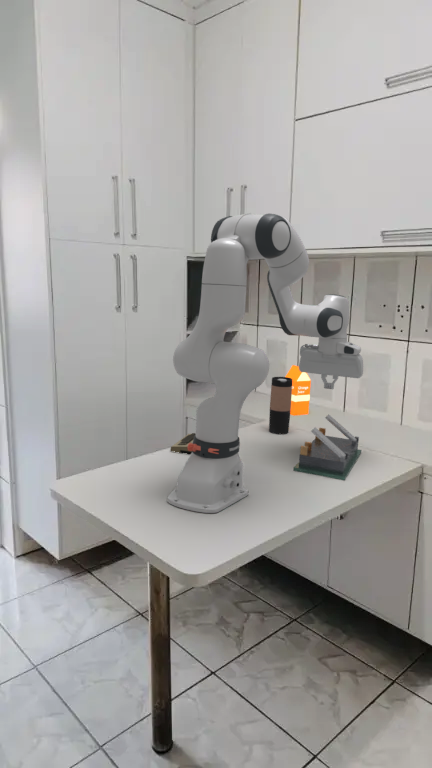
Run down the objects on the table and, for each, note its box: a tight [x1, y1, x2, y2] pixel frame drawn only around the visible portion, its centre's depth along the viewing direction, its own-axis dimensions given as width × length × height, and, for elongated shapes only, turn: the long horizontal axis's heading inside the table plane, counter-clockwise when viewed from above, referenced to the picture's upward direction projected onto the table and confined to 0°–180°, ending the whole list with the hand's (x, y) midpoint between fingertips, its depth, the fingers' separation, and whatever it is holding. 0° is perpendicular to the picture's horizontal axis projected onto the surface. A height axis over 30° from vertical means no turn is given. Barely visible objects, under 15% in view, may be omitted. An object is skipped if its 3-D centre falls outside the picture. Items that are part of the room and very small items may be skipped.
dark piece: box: [292, 427, 362, 481], centre depth 162 cm, size 28×15×7 cm, turn 155°
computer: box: [170, 432, 196, 455], centre depth 172 cm, size 16×8×3 cm, turn 163°
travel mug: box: [268, 376, 292, 435], centre depth 191 cm, size 8×8×20 cm
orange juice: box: [284, 364, 312, 417], centre depth 221 cm, size 8×9×20 cm
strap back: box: [324, 414, 357, 441], centre depth 169 cm, size 3×12×1 cm
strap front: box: [310, 426, 346, 458], centre depth 153 cm, size 3×12×1 cm
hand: (328, 388), depth 169 cm, fingers closed
